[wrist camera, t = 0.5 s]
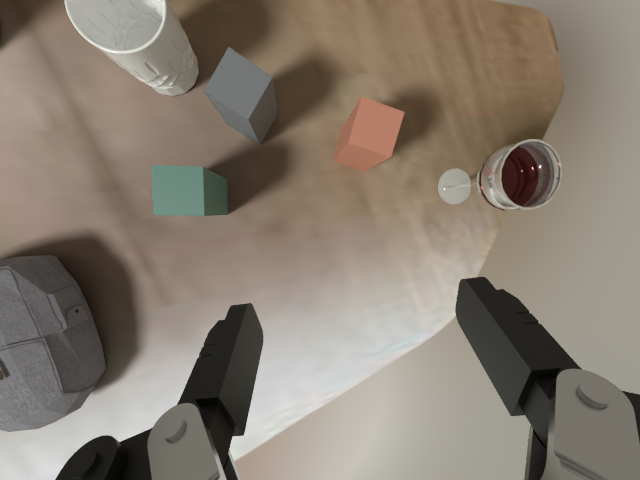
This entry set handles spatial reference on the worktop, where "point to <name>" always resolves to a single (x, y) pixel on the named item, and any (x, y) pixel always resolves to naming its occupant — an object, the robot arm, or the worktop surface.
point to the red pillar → (368, 135)
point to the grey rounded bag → (44, 343)
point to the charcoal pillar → (243, 95)
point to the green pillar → (188, 191)
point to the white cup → (139, 40)
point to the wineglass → (509, 177)
